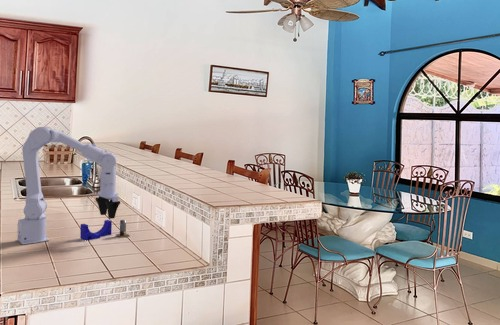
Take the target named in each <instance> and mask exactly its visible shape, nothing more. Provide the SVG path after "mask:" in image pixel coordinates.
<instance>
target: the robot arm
mask: <svg viewBox="0 0 500 325" xmlns="http://www.w3.org/2000/svg"><path fill="white" fill-rule="evenodd" d="M49 143H62V144H63V145H65V146H68V147H70V148H73V149H75V150H76V151H79V152H80V153H81V156H82V157H83V158H85V159H87V160H90V161H91V162H94V163H96V164H100V166H101V170H100V182H99V183H100V184H99V185H100V186H99V187H100V188H99V189H100V190H99V191H97V197H95V201H96V203H97V206H98V210H99V214H100V215H101V216H104V215H107V217H108V220H111V219H115V218H116V215H117V214H116V213H117V210H118V208H119V206H120V205H121V201H120V200H119V193H117V192H116V184H117V183H116V181H117V180H116V178H117V177H116V175H117V174H116V164H117V157H116V156H115V155H114V154H113V153H112V152H108V150H107V149H105V150H104V149H102V148H100V147H98V146H97V144H96V143H86V144H85V143H83V142H81V141H79V140H78V139H75V138H73V137H71V136H70V135H68V134H66V133H64V132H62V131H60V130H57V129H53V128H52V127H49V126H39V127H36V128H34V129H33V130H32V131H30V132H29V135H28V137H27V138H26V140H25V142H24V143H23V146H22V148H21V150H22V159H23V160H22V162H23V167H24V168H23V169H24V170H23V171H24V179H25V188H26V196H25V206H24V209H23V215H24V218H21V219H18V220H17V239H16V240H17V241H18V242H19V243H20V244H21V245H28V244H36V243H42V242H49V241H50V239H49V238H48V237H47V215H46V214H45V212H46V210H47V208H48V204H47V201H46V200H45V198H44V193H43V191H42V184H41V183H42V181H41V174H40V165H39V164H40V163H39V155H38V154H39V153H38V152H39V151H40V150H41V149H42V148H43V147H44V146H45V145H47V144H49Z"/></svg>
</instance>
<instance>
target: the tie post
mask: <svg viewBox="0 0 500 325" xmlns="http://www.w3.org/2000/svg"><path fill="white" fill-rule="evenodd" d="M115 236H116V237H118V238H120V239H121V238H128V237H130V234H129V233H127V220H126V219H120V221H119V233H115Z"/></svg>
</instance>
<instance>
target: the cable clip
mask: <svg viewBox="0 0 500 325" xmlns="http://www.w3.org/2000/svg"><path fill="white" fill-rule="evenodd" d="M112 224H113V222H112V220H111V219H105V220H104V222H103V225H102V227H101V229H99V230H98V231H96V232H92V231H91V230H90V229H89V224H86V223H81V224H80V230H79V231H80V234H79V235H80V236H79V238H81V239H80V240H83V241H85V240H86V241H85V242H87V240H88V241H92V240H97V239H101V238H102V237H107V236H111V235H112V231H113V230H112V227H113V226H112Z"/></svg>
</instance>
